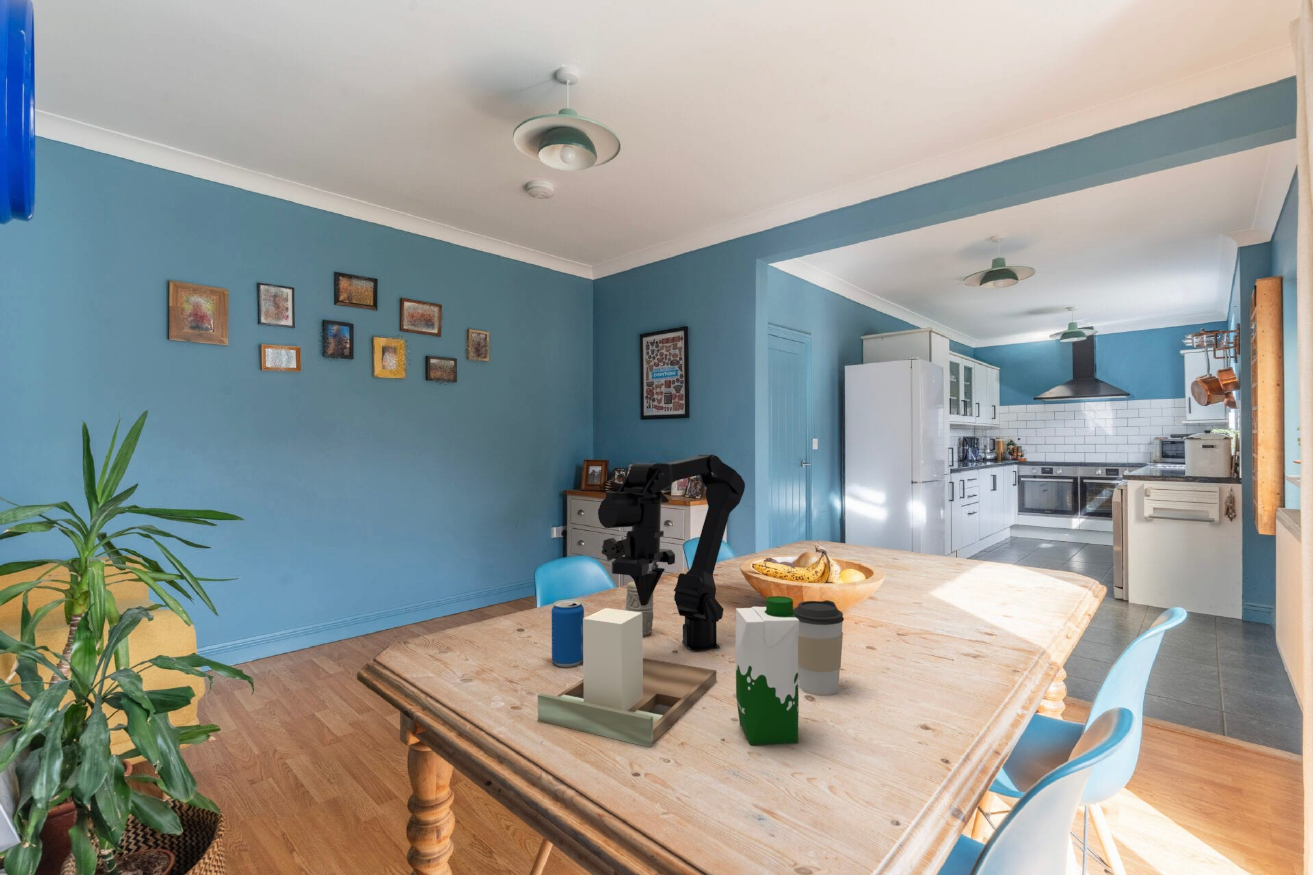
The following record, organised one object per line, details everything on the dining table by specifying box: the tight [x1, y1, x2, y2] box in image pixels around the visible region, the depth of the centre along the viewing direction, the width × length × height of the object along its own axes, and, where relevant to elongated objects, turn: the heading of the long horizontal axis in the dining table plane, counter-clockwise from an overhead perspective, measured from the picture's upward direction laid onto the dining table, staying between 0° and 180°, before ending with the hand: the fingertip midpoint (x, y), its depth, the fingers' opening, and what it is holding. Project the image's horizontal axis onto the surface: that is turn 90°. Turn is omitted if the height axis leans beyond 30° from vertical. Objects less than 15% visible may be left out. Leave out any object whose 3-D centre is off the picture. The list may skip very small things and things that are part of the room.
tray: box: [537, 657, 717, 748], centre depth 103 cm, size 27×20×4 cm
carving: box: [624, 580, 654, 637], centre depth 139 cm, size 6×8×12 cm
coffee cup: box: [793, 599, 845, 696], centre depth 107 cm, size 9×9×15 cm
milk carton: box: [735, 595, 800, 746], centre depth 90 cm, size 9×9×20 cm
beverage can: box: [551, 598, 585, 668], centre depth 121 cm, size 6×6×12 cm
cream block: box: [582, 607, 644, 711], centre depth 97 cm, size 7×7×14 cm
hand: (644, 605), depth 118 cm, fingers closed
